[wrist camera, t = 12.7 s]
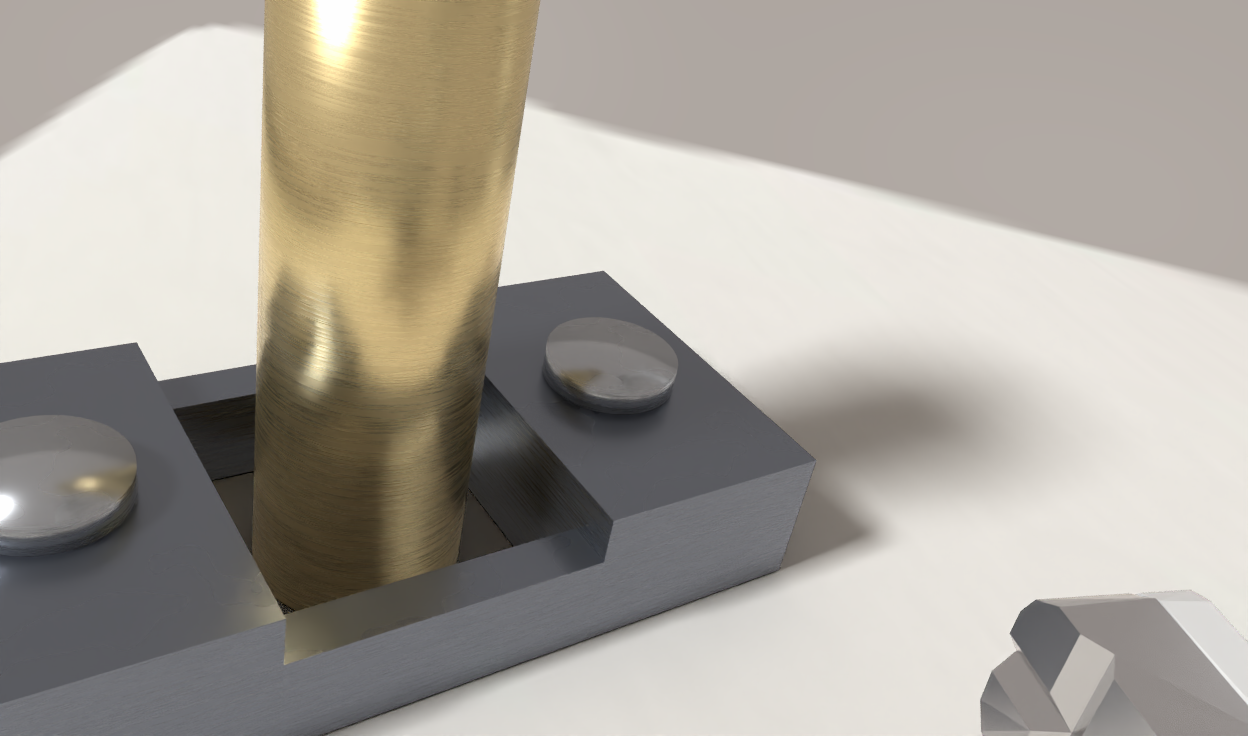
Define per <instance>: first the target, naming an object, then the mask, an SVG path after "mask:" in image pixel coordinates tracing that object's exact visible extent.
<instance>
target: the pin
mask: <svg viewBox="0 0 1248 736" xmlns="http://www.w3.org/2000/svg"><path fill="white" fill-rule="evenodd" d="M539 5H540V0H265V18H264V60H263V104H262V147H261V191H260V234H259V277H258V321H257V364H256V407H255V451H254V494H253V538H252V557H253V559H254V561H255V562H256V564H257V566H258V568H259V570H260V572H261V573H262V575H263V577H264V579H265V581H266V583H267V585H268V586H269V588H270V590H271V592H272V594H273V596H274V597H276V598H277V599H278V600H279V601H281V602H282V603H284V604H285V605H287V606H289V607H290V608H292V609H294V610H296V611H299V610H302V609H305V608H309V607H312V606H315V605H319V604H322V603H326V602H329V601H332V600H336V599H339V598H342V597H346V596H349V595H353V594H356V593H359V592H363V591H366V590H369V589H373V588H376V587H380V586H383V585H386V584H390V583H393V582H396V581H400V580H403V579H407V578H410V577H413V576H417V575H420V574H423V573H427V572H430V571H434V570H437V569H440V568H444V567H447V566H450V565H454V564H457V559H458V552H459V546H460V539H461V532H462V525H463V519H464V512H465V505H466V498H467V492H468V485H469V478H470V471H471V465H472V458H473V451H474V444H475V438H476V431H477V424H478V417H479V411H480V404H481V397H482V390H483V384H484V377H485V370H486V363H487V357H488V350H489V343H490V336H491V330H492V323H493V316H494V309H495V303H496V296H497V289H498V282H499V276H500V269H501V262H502V255H503V249H504V242H505V235H506V228H507V221H508V215H509V208H510V201H511V194H512V188H513V181H514V174H515V167H516V161H517V154H518V147H519V140H520V134H521V127H522V120H523V113H524V107H525V100H526V93H527V86H528V79H529V73H530V65H531V59H532V53H533V46H534V39H535V32H536V26H537V19H538V11H539Z"/></svg>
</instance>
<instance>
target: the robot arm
mask: <svg viewBox="0 0 1248 736" xmlns="http://www.w3.org/2000/svg"><path fill="white" fill-rule="evenodd" d="M1010 635H1011V638H1012V640H1013V643H1014V645H1015V648H1016V652H1014V653H1013V654H1012V655H1011V656H1010V657H1008V658H1007V659H1006V660H1005V661H1004V662H1002V663H1001V664H1000V665H999V666H997V667H996V668H995V669H994V670H993V671H992V672H991V675H990V677H989V680H988V682H987V685H986V687H985V689H984V692H983V694H982V697H981V699H980V702H981V732H982V735H983V736H1248V641H1247V640H1246V639H1245V638H1244V637H1243V636H1242V635H1241V634H1240V633H1239V631H1238V630H1237V629H1236V628H1235V627H1234V626H1233V625H1232V624H1231V623H1230V622H1229V620H1228V619H1227V618H1226V617H1225V616H1224V615H1223V614H1222V613H1221V612H1220V611H1219V609H1218V608H1217V607H1216V606H1215V605H1214V604H1213V603H1212V602H1211V601H1210V600H1208V599H1206V598H1205V597H1203V596H1201V595H1199V594H1197V593H1196V592H1194V591H1192V590H1180V591H1164V592H1149V593H1139V594H1135V595H1134V594H1114V595H1099V596H1084V597H1069V598H1054V599H1039V600H1035V601H1034V602H1032V603H1031V604H1030V605H1028V606H1027V607H1026V608H1024V609H1023V610H1022V611H1021V612H1020V614H1019V616H1018V618H1017V620H1016V622H1015V624H1014V626H1013V628H1012V630H1011V632H1010Z"/></svg>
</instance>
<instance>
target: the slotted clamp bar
mask: <svg viewBox="0 0 1248 736" xmlns="http://www.w3.org/2000/svg"><path fill="white" fill-rule="evenodd" d="M255 407H256V365H250V366H244V367H238V368H232V369H227V370H221V371H215V372H209V373H203V374H198V375H192V376H186V377H180V378H174V379H169V380H163V381H157V379H156V377H155V376H154V374H153V372H152V370H151V368H150V366H149V364H148V363H147V361H146V359H145V357H144V355H143V353H142V351H141V350H140V348H139V346H138V344H137V342H136V343H130V344H123V345H117V346H110V347H104V348H97V349H90V350H84V351H77V352H71V353H64V354H58V355H51V356H45V357H38V358H32V359H25V360H19V361H12V362H6V363H0V736H320V735H323V734H325V733H328V732H331V731H334V730H337V729H339V728H342V727H345V726H348V725H350V724H353V723H356V722H359V721H361V720H364V719H367V718H370V717H373V716H375V715H378V714H381V713H384V712H386V711H389V710H392V709H395V708H397V707H400V706H403V705H406V704H409V703H411V702H414V701H417V700H420V699H422V698H425V697H428V696H431V695H433V694H436V693H439V692H442V691H445V690H447V689H450V688H453V687H456V686H458V685H461V684H464V683H467V682H469V681H472V680H475V679H478V678H481V677H483V676H486V675H489V674H492V673H494V672H497V671H500V670H503V669H505V668H508V667H511V666H514V665H517V664H519V663H522V662H525V661H528V660H530V659H533V658H536V657H539V656H541V655H544V654H547V653H550V652H553V651H555V650H558V649H561V648H564V647H566V646H569V645H572V644H575V643H577V642H580V641H583V640H586V639H588V638H591V637H594V636H597V635H600V634H602V633H605V632H608V631H611V630H613V629H616V628H619V627H622V626H624V625H627V624H630V623H633V622H636V621H638V620H641V619H644V618H647V617H649V616H652V615H655V614H658V613H660V612H663V611H666V610H669V609H672V608H674V607H677V606H680V605H683V604H685V603H688V602H691V601H694V600H696V599H699V598H702V597H705V596H708V595H710V594H713V593H716V592H719V591H721V590H724V589H727V588H730V587H732V586H735V585H738V584H741V583H744V582H746V581H749V580H752V579H755V578H757V577H760V576H763V575H766V574H768V573H771V572H774V571H777V570H779V568H780V565H781V562H782V559H783V556H784V553H785V551H786V548H787V545H788V542H789V539H790V536H791V533H792V530H793V527H794V524H795V522H796V519H797V516H798V513H799V510H800V507H801V504H802V501H803V498H804V495H805V492H806V490H807V487H808V484H809V481H810V478H811V475H812V472H813V469H814V466H815V463H816V459H814V458H813V457H812V456H811V455H810V454H809V453H808V452H807V451H805V450H804V449H803V448H802V447H801V446H800V445H799V444H798V443H796V442H795V441H794V440H793V439H792V438H791V437H790V436H789V435H787V434H786V433H785V432H784V431H783V430H782V429H781V428H780V427H779V426H777V425H776V424H775V423H774V422H773V421H772V420H771V419H770V418H768V417H767V416H766V415H765V414H764V413H763V412H762V411H761V410H759V409H758V408H757V407H756V406H755V405H754V404H753V403H752V402H750V401H749V400H748V399H747V398H746V397H745V396H744V395H743V394H741V393H740V392H739V391H738V390H737V389H736V388H735V387H734V386H732V385H731V384H730V383H729V382H728V381H727V380H726V379H725V378H723V377H722V376H721V375H720V374H719V373H718V372H717V371H716V370H714V369H713V368H712V367H711V366H710V365H709V364H708V363H707V362H705V361H704V360H703V359H702V358H701V357H700V356H699V355H698V354H696V353H695V352H694V351H693V350H692V349H691V348H690V347H689V346H687V345H686V344H685V343H684V342H683V341H682V340H681V339H680V338H679V337H677V336H676V335H675V334H674V333H673V332H672V331H671V330H670V329H668V328H667V327H666V326H665V325H664V324H663V323H662V322H661V321H659V320H658V319H657V318H656V317H655V316H654V315H653V314H652V313H650V312H649V311H648V310H647V309H646V308H645V307H644V306H643V305H641V304H640V303H639V302H638V301H637V300H636V299H635V298H634V297H632V296H631V295H630V294H629V293H628V292H627V291H626V290H625V289H623V288H622V287H621V286H620V285H619V284H618V283H617V282H616V281H614V280H613V279H612V278H611V277H610V276H609V275H608V274H607V273H605V272H604V271H600V272H593V273H587V274H580V275H574V276H567V277H561V278H554V279H548V280H541V281H535V282H528V283H521V284H515V285H508V286H502V287H498V289H497V296H496V303H495V309H494V316H493V323H492V330H491V336H490V343H489V350H488V357H487V363H486V370H485V377H484V384H483V390H482V397H481V404H480V411H479V417H478V424H477V431H476V438H475V444H474V451H473V458H472V465H471V471H470V478H469V485H468V488H469V489H470V490H471V492H472V493H473V494H474V496H475V497H476V498H477V499H478V501H479V502H480V503H481V505H482V506H483V507H484V509H485V510H486V511H487V512H488V514H489V515H490V516H491V518H492V519H493V520H494V521H495V523H496V524H497V525H498V527H499V528H500V529H501V530H502V532H503V533H504V534H505V536H506V537H507V538H508V540H509V541H510V542H511V543H512V545H513V546H514V547H511V548H508V549H504V550H501V551H498V552H494V553H491V554H488V555H484V556H481V557H477V558H474V559H471V560H467V561H464V562H461V563H457V564H454V565H450V566H447V567H444V568H440V569H437V570H434V571H430V572H427V573H423V574H420V575H417V576H413V577H410V578H407V579H403V580H400V581H396V582H393V583H390V584H386V585H383V586H380V587H376V588H373V589H369V590H366V591H363V592H359V593H356V594H353V595H349V596H346V597H342V598H339V599H336V600H332V601H329V602H326V603H322V604H319V605H315V606H312V607H309V608H305V609H302V610H299V611H295V612H292V613H288V614H285V615H284V614H283V612H282V611H281V609H280V607H279V605H278V603H277V601H276V599H275V598H274V596H273V594H272V592H271V590H270V588H269V586H268V585H267V583H266V581H265V579H264V577H263V575H262V573H261V572H260V570H259V568H258V566H257V564H256V562H255V561H254V559H253V557H252V555H251V553H250V551H249V549H248V548H247V546H246V544H245V542H244V540H243V538H242V536H241V535H240V533H239V531H238V529H237V527H236V525H235V524H234V522H233V520H232V518H231V516H230V514H229V512H228V511H227V509H226V507H225V505H224V503H223V501H222V499H221V498H220V496H219V494H218V492H217V490H216V488H215V487H214V485H213V483H212V481H211V480H215V479H219V478H224V477H228V476H233V475H237V474H242V473H246V472H251V471H254V451H255Z"/></svg>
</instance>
